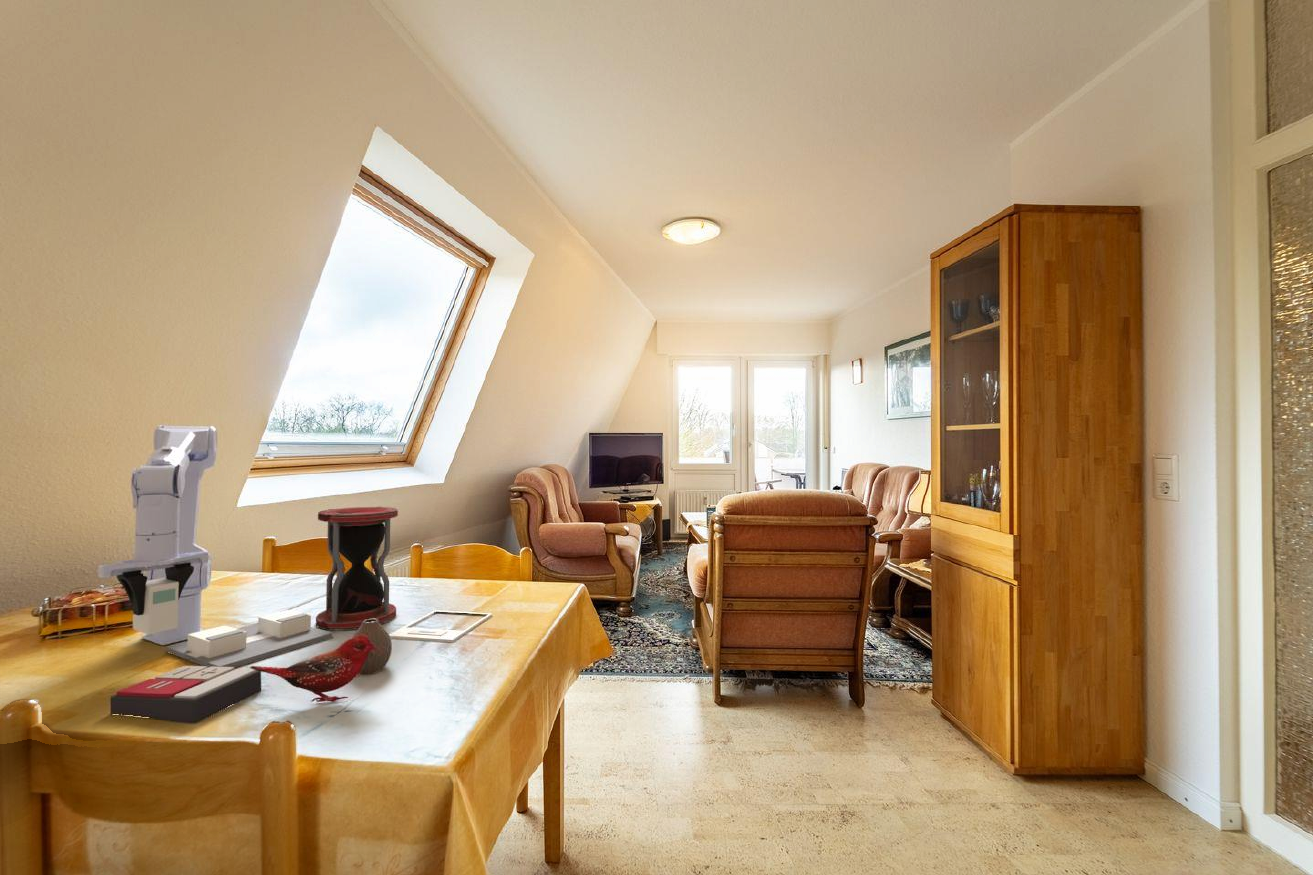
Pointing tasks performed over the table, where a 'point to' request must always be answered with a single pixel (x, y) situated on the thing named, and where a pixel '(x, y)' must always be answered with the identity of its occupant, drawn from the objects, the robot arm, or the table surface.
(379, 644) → the vase
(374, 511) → the hourglass
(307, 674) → the decorative bird figurine
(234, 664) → the rail board
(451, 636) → the photo frame
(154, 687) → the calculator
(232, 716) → the table surface
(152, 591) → the module block
